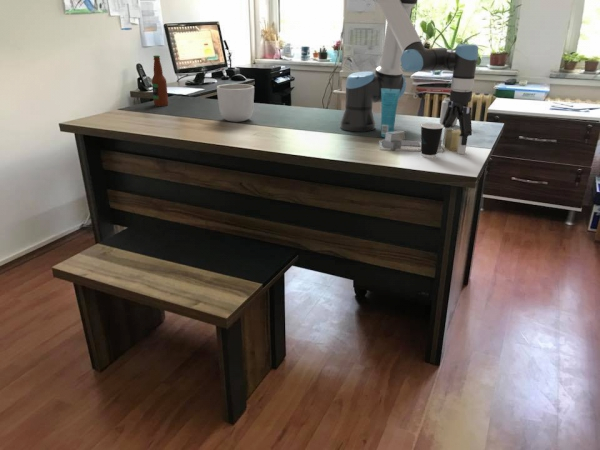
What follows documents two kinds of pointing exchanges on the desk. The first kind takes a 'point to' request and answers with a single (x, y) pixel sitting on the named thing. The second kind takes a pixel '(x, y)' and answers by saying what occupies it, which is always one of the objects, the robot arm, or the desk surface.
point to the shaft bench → (401, 142)
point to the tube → (388, 109)
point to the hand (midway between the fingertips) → (453, 149)
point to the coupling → (452, 140)
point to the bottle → (159, 84)
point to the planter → (236, 101)
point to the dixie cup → (430, 139)
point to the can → (443, 111)
